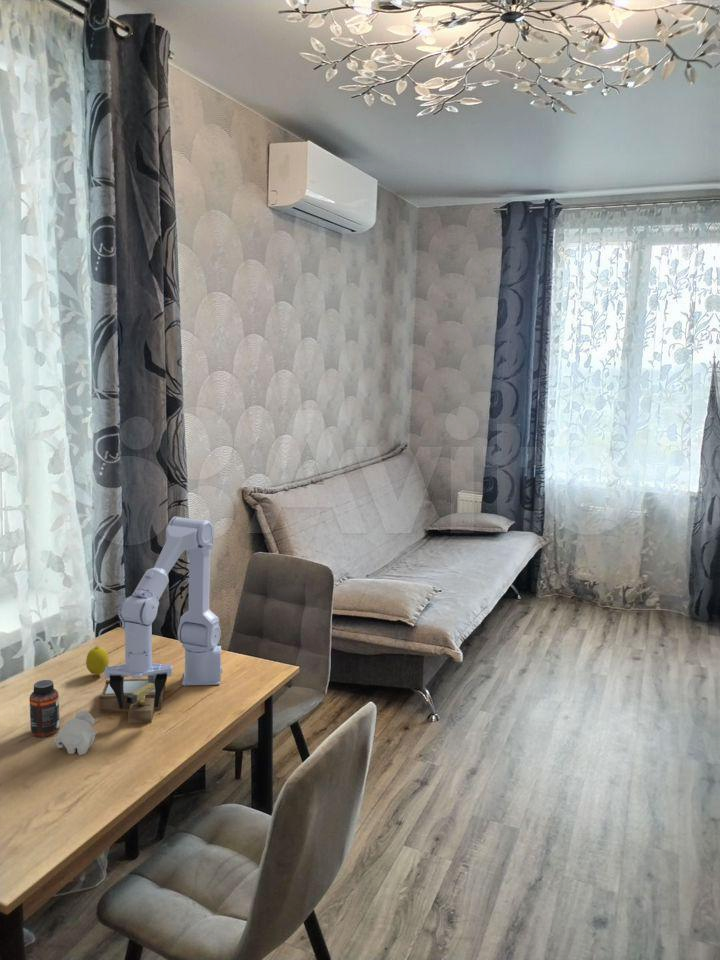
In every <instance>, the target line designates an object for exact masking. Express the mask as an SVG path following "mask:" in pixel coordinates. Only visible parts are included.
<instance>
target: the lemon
mask: <svg viewBox="0 0 720 960" xmlns="http://www.w3.org/2000/svg"><path fill="white" fill-rule="evenodd" d="M85 660H86V661H85V666H86V669H87V671H89V673H90V674H93V675H95V676H97V677H99V676H100V675H101V674H103V673H105V668H106V667H109V663H110V660H109V654H108V651H106V649H104V648H103V647H101V646H100V647H99V646H95V647H93V648H92V649H90V651H88V653H87V655H86V659H85Z"/></svg>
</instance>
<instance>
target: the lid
mask: <svg viewBox="0 0 720 960" xmlns="http://www.w3.org/2000/svg"><path fill="white" fill-rule="evenodd" d="M155 678H156V676H147V679H148V681H124V684H123V691H124V694H133V693H134V692H136V691H137V690H139V689H140V688H142V687H144V686H145V685H147V684H148V683H153V684H155ZM150 693H155V689H154V690H153V691H151V692H150ZM113 694H115V693H114V691H113V689H112V688H111V687H110V684H109V685H108V687H107V690H106V692H105V695H113Z"/></svg>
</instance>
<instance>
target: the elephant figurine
mask: <svg viewBox="0 0 720 960" xmlns="http://www.w3.org/2000/svg"><path fill="white" fill-rule="evenodd" d="M94 724H95V718H94V717H93V715H92V714H91V713H90V712H88V711H87V710H80V711H78V712H77V713H76V714H75V716H74V717H73V718H70V719H69V720H67V722H66V723H65V725H63V727H61V729H59V732H57V733H56V736H57V737H55V739H53V740H51V741H50V742H49V744H52V743H54V742H55V744H56V747H57V748H58V749H61V748H63V747H64V746H65V748H66V752H67V754H69V755H74V754H75V753H76V752H77V754H78V755H79V756H82V755H85V754H86V753H87V752H88V751H89V748H90V747H92V745H93V743H94V741H95V737H96V734H98V731H96V732H95V730H94V727H93V725H94Z"/></svg>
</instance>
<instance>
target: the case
mask: <svg viewBox="0 0 720 960" xmlns="http://www.w3.org/2000/svg"><path fill="white" fill-rule="evenodd" d="M109 681H110V679H106V680H105V685H104V688H103V690H102V692H101V694H100V695H99V699H98V701H99V702H98V705H99V706H98V707H99V710H98V711H99V713H106V712H107V713H108V712H128V724H142V723H143V724H145V723H146V724H147V723H152V722H153V717H154V714H155V711H161V710H162V706H163V702H164V697H165V693H166V684H165V685H164V687H163V689H162V692H161V694H160V698H159V705H158V707H155V693H148V694H147V695H145V705H144V706H138V701H137V702H135V703H134V704H129V703H127V696H129V695H130V694H124V706H123V708H122V709H120V708H119V703H118V700H117V697H116V695H115V694H113V695H105V692H106V690H107V687H108V685H109ZM124 681H148V678H130V679H125V678H124Z"/></svg>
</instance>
